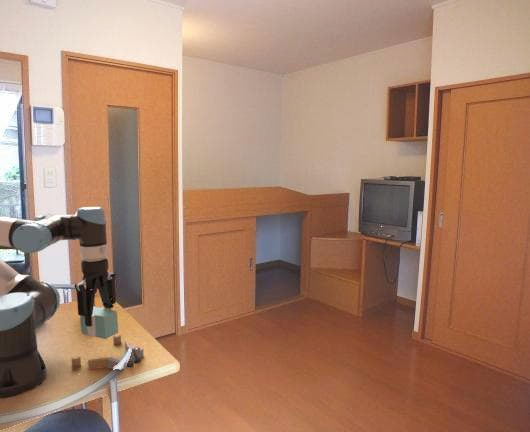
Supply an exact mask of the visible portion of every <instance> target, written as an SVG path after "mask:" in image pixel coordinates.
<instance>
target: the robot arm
mask: <svg viewBox="0 0 530 432" xmlns="http://www.w3.org/2000/svg"><path fill="white" fill-rule="evenodd" d="M107 239H108V238H107V220H106V214H105V210H104V208H102V207H101V206H84V207H83V206H82V207H79V208H78V209H77V211H76V213H75V214H44V215H43V214H42V215H37V216H36V217H34V219H33V220H29V219H20V218H15V217H14V218H13V217H6V216H0V247H8V248H16V249H17V250H18V251H19V252H22V253H25V254H33V253H37V252H38V253H39V252H41V251H43V250H45V249H47V248H48V247H50V246H51V245H54V244H56V243H58V242H60V241H77V240H78V242H79V252H80V253H79V254H80V257H79V258H80V259H81V261H80V269H81V272H82V281H80V282H79V283H75V284H74V288H75V292H76V301H77V314H78V316H79V317H80V316H85V325H86V326H87V331H88V335H87V336H91V337H94V336H96V325H95V315H92V313H93V306H94V300H95V298H96V294H97V291H98V293H99V296H100V299H101V302H102V305H103V307H102V308H104V309H109V310H112V309H113V308H114V306H115V305H114V304H116V303H117V298H116V297H117V296H116V284H115V282H116V281H115V280H116V273H114V272H108V270H109V267H110V266H109V257H108V242H107ZM60 304H61V296H60V293H59V291H58V289H57V288H56V286H54V284H52V283H51V282H47V281H39V280H36V278H34V277H33V276H32V275H30V274H20V273H19V272H18V271H17V270H15V269H14V268H13V267H11V265H9V264H8V263H6V262H5V261H4V260H3V259H1V258H0V399H1V398H6V397H7V398H8V397H12V396H13V397H14V396H17V395H20V394H23V393H26V392H28V391H30V390H32V389H35V388H36V387H38V386H39V385H40V384H41V383H43V382H44V381H45V379H46V378H47V375H48V371H47V365H46V363H45V361H44V359H43V357H42V355H41V353H40V352H39V349H38V341H37V330H39V329H40V328H41V327H42V326H43V325H44V324H45V323H46V322H47V321H49V320H50V319H51V318H53V316H54V315H55V313H56V312H57V311H58V309H59V307H60Z"/></svg>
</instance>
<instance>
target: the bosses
mask: <svg viewBox="0 0 530 432" xmlns="http://www.w3.org/2000/svg"><path fill="white" fill-rule="evenodd" d="M135 347H136V348H134V349H133V352H131V356H130V359H129V361H128V363H127V365H125V366H126V368H127V369H130V368H133V367H134V365H135V364H139V363H141V361H142V360H141V358H142V357H141V354H140V348H141V347H140V346H135ZM133 355H134V356H133Z"/></svg>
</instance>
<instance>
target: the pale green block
mask: <svg viewBox="0 0 530 432" xmlns="http://www.w3.org/2000/svg"><path fill="white" fill-rule="evenodd" d="M92 315H95V325H96V336H93V337H95V338H99V339H103V340H107V339H109V338H111V337H113V336H114V335H118V333H119V325H118V322H119V321H118V311H117V310H115V309H114V310H113V309H111V310H109V309H104V308H103V307H98V306H95V307H94V306H93V313H92ZM79 317H80V327H81V334H82V335H85V336H86V335H87V336H89V335H88V331H87V326H86V325H85V316H80V315H79Z"/></svg>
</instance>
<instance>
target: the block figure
mask: <svg viewBox="0 0 530 432" xmlns="http://www.w3.org/2000/svg"><path fill="white" fill-rule="evenodd" d="M112 338H113V342H112V343H113V345H114V346H115V345H116V346H118V345H120V344H122V335H121V334H115V335H113V336H112ZM136 347H137V346H134V345H131V343H130V341H129V339H128V338H126V339H124V348H125V350H126V351H127V350H128V349H129V348H131V349H132V352H133V349H134V348H136ZM139 348H140V354H141V358H143V357H144V356H145V355H144V348H142V347H139ZM133 357H134V355H133ZM120 360H121V359H119V358H114V357H103V358H102V357H101V358H93V359H88V361H87V365H88V367H87V368H88V370H93V369H94V370H95V369H104V368H108V369H112V368H113V367H114V366H115V365H117V364H118V363H119V362H120ZM81 366H82V359H81V356H80V355H76V356H72V357H71V368H73V369H76V368H77V369H78V368H79V367H81Z"/></svg>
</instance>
